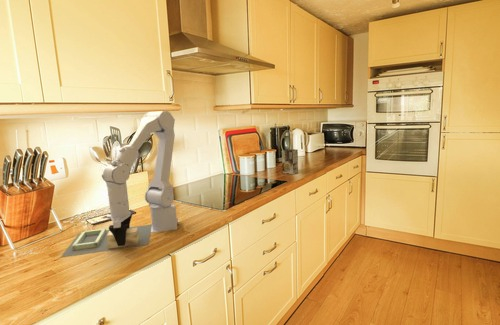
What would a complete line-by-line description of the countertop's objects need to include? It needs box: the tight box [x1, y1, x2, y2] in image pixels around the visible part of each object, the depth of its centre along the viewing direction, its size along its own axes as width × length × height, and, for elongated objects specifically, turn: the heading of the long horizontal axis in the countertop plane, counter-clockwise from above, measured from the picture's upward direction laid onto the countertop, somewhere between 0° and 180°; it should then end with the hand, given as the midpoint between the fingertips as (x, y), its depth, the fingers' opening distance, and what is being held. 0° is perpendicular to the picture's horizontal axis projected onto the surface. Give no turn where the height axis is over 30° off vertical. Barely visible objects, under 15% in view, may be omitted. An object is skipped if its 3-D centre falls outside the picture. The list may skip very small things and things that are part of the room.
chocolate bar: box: [85, 209, 137, 226], centre depth 128 cm, size 9×1×18 cm
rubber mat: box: [59, 224, 152, 258], centre depth 103 cm, size 26×19×1 cm
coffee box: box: [281, 148, 299, 175], centre depth 200 cm, size 9×6×16 cm
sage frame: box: [72, 228, 107, 250], centre depth 102 cm, size 8×13×2 cm, turn 14°
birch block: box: [107, 226, 139, 249], centre depth 98 cm, size 9×4×4 cm, turn 104°
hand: (123, 240), depth 98 cm, fingers open, 7 cm apart
